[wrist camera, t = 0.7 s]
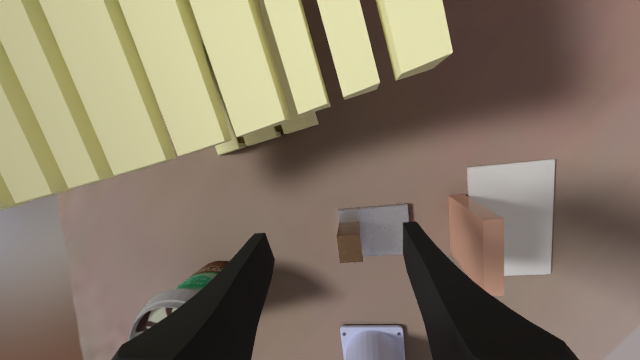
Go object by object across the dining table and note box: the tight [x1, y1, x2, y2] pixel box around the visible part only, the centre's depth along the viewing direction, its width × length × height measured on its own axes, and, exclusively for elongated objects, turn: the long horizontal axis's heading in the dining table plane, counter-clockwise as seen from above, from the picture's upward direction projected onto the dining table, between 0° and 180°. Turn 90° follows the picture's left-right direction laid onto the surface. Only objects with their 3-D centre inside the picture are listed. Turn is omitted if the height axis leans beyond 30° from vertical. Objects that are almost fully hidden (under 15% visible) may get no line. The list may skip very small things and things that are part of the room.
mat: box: [467, 159, 555, 276], centre depth 28 cm, size 13×8×1 cm, turn 8°
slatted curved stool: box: [0, 0, 453, 210], centre depth 20 cm, size 30×16×18 cm, turn 107°
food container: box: [129, 261, 229, 340], centre depth 30 cm, size 12×6×10 cm, turn 110°
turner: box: [337, 203, 409, 263], centre depth 28 cm, size 8×6×5 cm
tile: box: [449, 194, 504, 296], centre depth 25 cm, size 7×2×8 cm, turn 7°
